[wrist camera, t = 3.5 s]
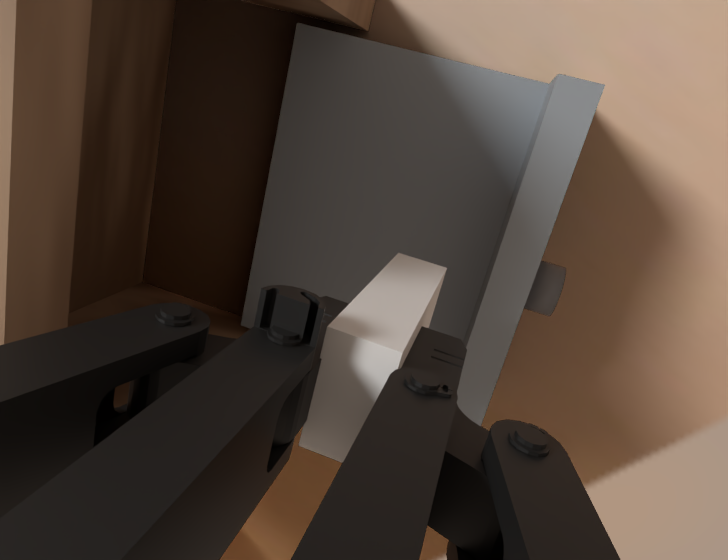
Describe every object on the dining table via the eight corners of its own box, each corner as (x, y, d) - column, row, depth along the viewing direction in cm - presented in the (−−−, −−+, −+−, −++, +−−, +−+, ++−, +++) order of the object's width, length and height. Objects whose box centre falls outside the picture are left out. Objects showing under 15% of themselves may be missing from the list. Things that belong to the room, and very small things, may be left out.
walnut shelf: (109, 302, 34) (-368, 513, 15) (147, -68, 27) (-591, -453, 9) (292, 367, 32) (-9, 698, 13) (379, -16, 25) (29, -376, 7)
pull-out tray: (253, 316, 31) (189, 363, 25) (308, 28, 26) (246, -1, 20) (499, 400, 29) (495, 475, 23) (610, 101, 24) (643, 94, 18)
